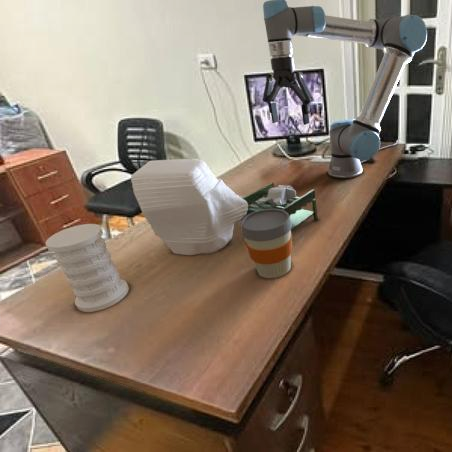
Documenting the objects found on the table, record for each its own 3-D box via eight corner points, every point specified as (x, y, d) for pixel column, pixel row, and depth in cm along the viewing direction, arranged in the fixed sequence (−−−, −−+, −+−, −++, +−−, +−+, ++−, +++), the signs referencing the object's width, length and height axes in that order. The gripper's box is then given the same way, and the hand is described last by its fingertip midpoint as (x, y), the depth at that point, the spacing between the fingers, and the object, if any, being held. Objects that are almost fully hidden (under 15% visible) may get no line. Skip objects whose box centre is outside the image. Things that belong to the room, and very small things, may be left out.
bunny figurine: (300, 183, 116) (281, 195, 103) (301, 197, 118) (283, 212, 105) (274, 181, 119) (253, 194, 106) (276, 196, 121) (254, 210, 108)
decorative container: (131, 299, 87) (103, 236, 78) (76, 319, 82) (41, 254, 73) (126, 277, 96) (101, 218, 87) (77, 293, 90) (45, 233, 82)
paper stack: (180, 229, 119) (157, 155, 107) (255, 231, 114) (240, 154, 102) (140, 265, 101) (107, 181, 88) (228, 268, 96) (205, 180, 84)
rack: (276, 210, 127) (271, 182, 122) (318, 219, 118) (314, 189, 113) (245, 230, 115) (239, 199, 110) (289, 241, 107) (284, 209, 101)
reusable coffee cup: (256, 256, 100) (247, 209, 93) (299, 254, 100) (293, 207, 93) (245, 283, 89) (233, 232, 82) (294, 281, 89) (286, 229, 82)
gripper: (245, 59, 117) (256, 123, 127) (307, 55, 105) (314, 127, 115) (260, 57, 122) (270, 119, 132) (320, 53, 110) (326, 122, 120)
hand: (290, 123), depth 124 cm, fingers open, 13 cm apart
